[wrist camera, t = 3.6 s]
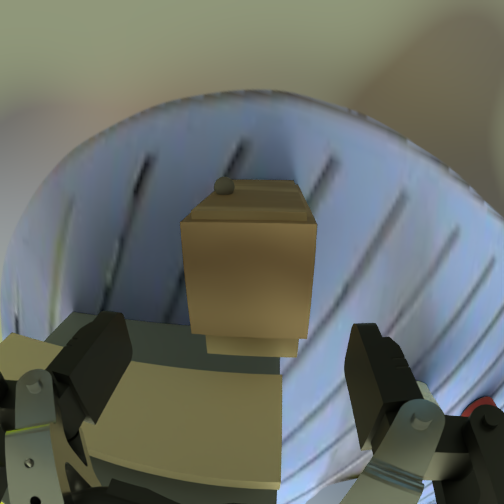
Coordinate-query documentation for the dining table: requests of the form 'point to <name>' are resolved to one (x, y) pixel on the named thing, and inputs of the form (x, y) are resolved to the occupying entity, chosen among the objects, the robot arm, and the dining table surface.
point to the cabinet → (250, 267)
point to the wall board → (177, 415)
